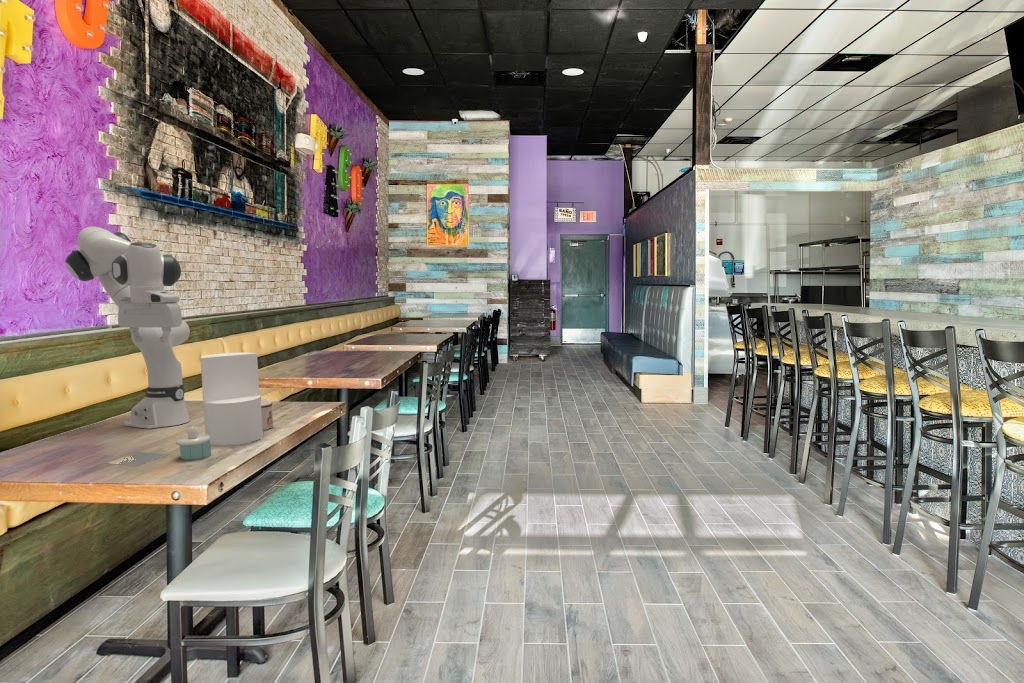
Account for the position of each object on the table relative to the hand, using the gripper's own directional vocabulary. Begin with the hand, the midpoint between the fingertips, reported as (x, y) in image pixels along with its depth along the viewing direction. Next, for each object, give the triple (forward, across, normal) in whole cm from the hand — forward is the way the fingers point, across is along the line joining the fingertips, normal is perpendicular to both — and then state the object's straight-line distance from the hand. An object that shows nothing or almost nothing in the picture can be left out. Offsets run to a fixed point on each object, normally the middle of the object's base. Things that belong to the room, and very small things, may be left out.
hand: (151, 342), depth 185 cm
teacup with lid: (+34, +11, +34) cm, 50 cm away
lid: (+29, +15, -3) cm, 33 cm away
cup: (+34, +15, -2) cm, 37 cm away
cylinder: (+34, +13, +18) cm, 41 cm away
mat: (+34, 0, -8) cm, 35 cm away
